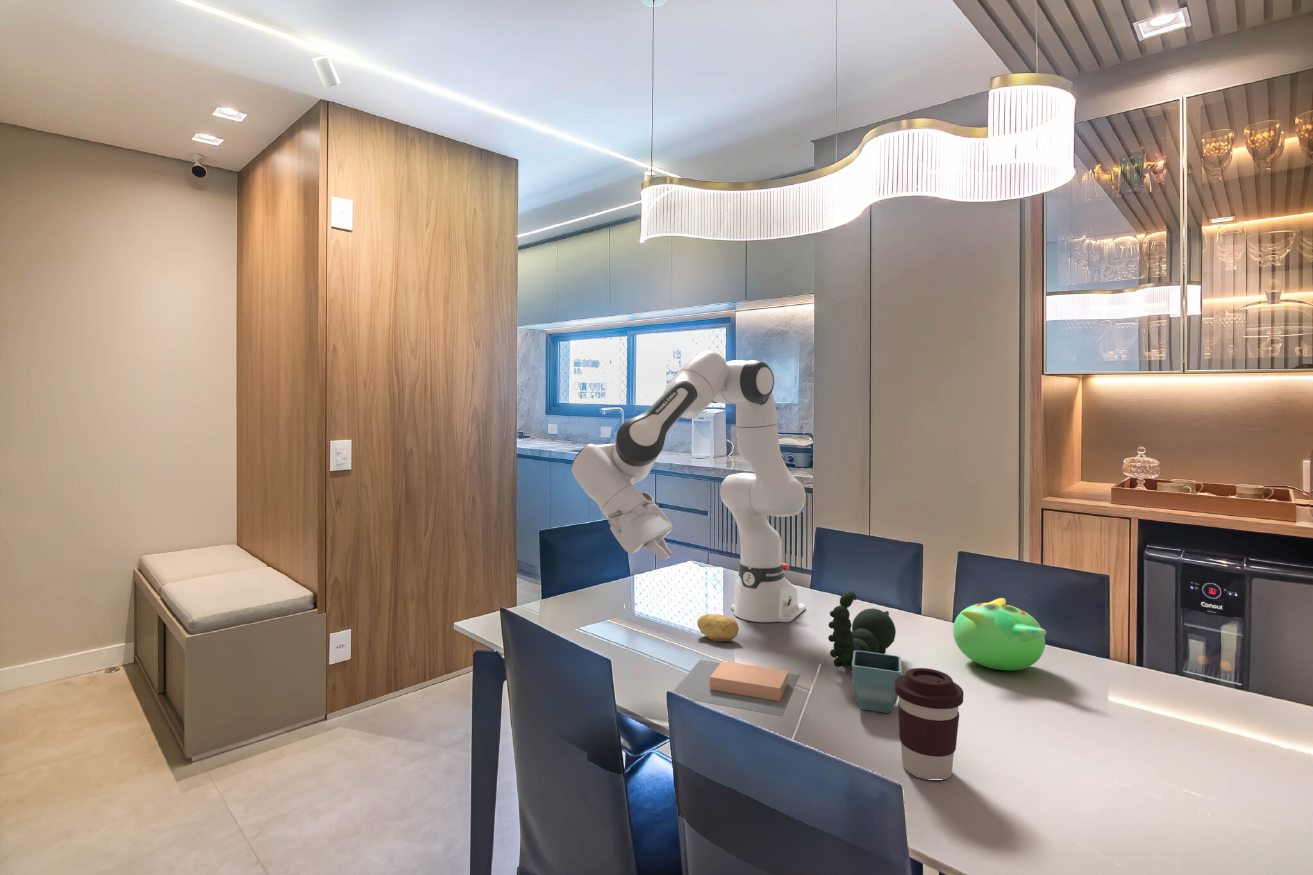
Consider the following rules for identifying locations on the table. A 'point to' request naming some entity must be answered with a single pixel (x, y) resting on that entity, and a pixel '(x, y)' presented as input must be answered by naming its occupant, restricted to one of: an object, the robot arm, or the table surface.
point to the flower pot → (875, 680)
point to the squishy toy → (999, 636)
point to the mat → (699, 690)
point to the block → (749, 680)
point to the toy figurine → (859, 631)
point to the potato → (718, 627)
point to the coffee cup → (928, 721)
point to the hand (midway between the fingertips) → (667, 557)
